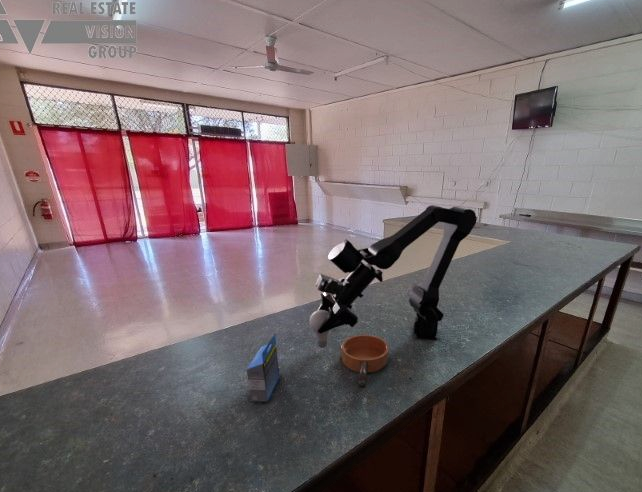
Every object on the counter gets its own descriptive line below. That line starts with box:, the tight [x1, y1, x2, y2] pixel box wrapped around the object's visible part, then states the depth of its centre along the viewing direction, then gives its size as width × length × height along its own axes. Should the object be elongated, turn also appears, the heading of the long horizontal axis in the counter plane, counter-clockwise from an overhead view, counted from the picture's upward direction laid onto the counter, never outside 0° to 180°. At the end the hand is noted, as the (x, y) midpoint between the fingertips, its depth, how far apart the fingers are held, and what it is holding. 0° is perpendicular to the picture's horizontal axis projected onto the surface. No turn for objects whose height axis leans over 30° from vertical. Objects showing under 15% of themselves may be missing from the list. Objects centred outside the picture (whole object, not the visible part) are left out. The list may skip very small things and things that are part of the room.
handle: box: [357, 361, 368, 389], centre depth 73 cm, size 2×9×2 cm, turn 178°
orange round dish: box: [341, 334, 390, 374], centre depth 83 cm, size 12×12×4 cm
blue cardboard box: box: [246, 332, 280, 403], centre depth 70 cm, size 9×4×12 cm, turn 178°
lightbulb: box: [309, 309, 330, 349], centre depth 84 cm, size 6×6×11 cm
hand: (316, 326), depth 83 cm, fingers closed on lightbulb, 6 cm apart
